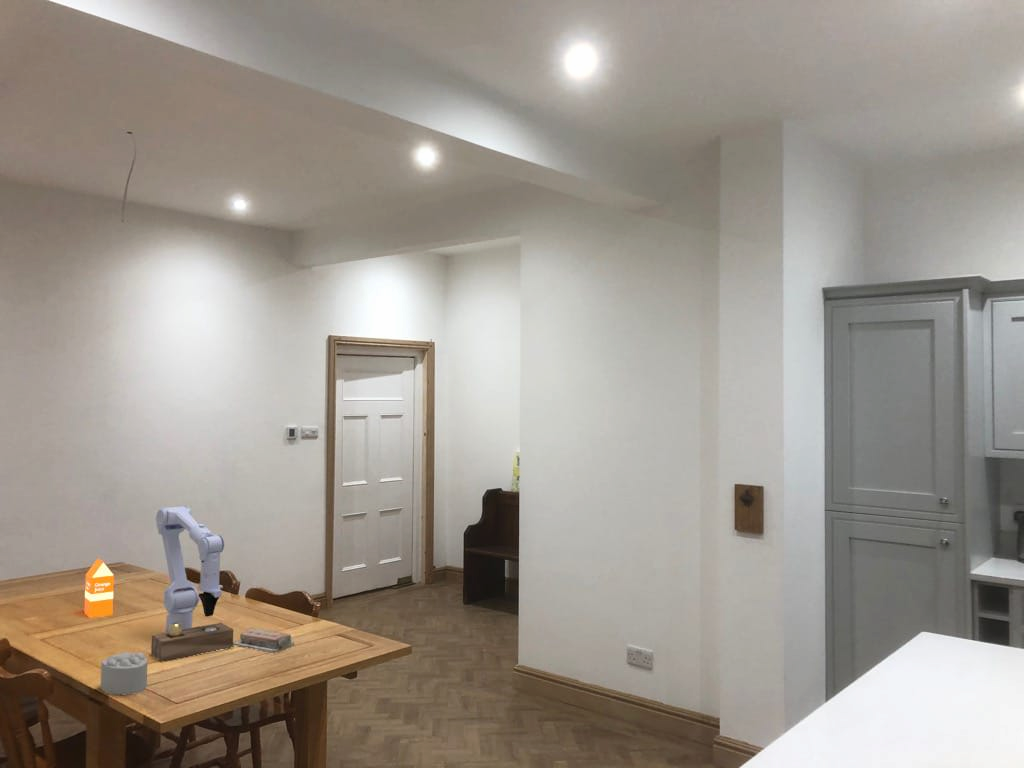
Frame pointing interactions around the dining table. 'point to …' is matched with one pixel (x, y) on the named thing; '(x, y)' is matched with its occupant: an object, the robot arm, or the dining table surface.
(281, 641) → the packaged product
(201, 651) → the walnut block
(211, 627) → the grey metal peg
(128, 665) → the lumpy-topped squat cylinder
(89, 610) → the orange juice
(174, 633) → the brass peg
